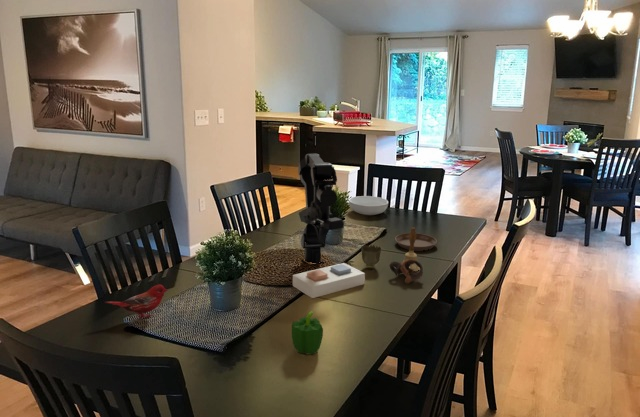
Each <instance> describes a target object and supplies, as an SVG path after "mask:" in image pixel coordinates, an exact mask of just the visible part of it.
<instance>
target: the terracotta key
mask: <svg viewBox="0 0 640 417" xmlns="http://www.w3.org/2000/svg"><path fill="white" fill-rule="evenodd" d="M314 270H315V271H312V270H310V271H311V272H307V271H306V272H307V278H309V279H311V280H313V281H314V282H316V281H320V280H324V279H327V277H328V274H326V273H325V272H323V271H321V270H316V269H314Z"/></svg>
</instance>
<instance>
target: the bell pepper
mask: <svg viewBox="0 0 640 417" xmlns="http://www.w3.org/2000/svg"><path fill="white" fill-rule="evenodd" d="M313 315H314V312H313V311H309V312H308V313H307V315H306V316H304V317H301V318H299V320H297V321H293V322H292V324H291V340H292V344H293V347H294V349H295V350H296V351H297V352H298V353H299V354H307V355H314V354H316V353H317V352H318V351H319V349H320V347H321V345H322V341H323V338H324V337H323V336H324V328H323V326H322V324H321V323H320V321H319V319H318V318H316V317H314V318H313V317H312V316H313ZM311 317H312V318H311Z"/></svg>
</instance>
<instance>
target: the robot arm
mask: <svg viewBox="0 0 640 417" xmlns="http://www.w3.org/2000/svg"><path fill="white" fill-rule="evenodd" d="M297 173H298V176H299V179H300V181H301V183H302V185H303V186H304V195H305V208H303V209H302V210H301V211H299V212H298V215H299V219H300V222H302V223H304V224H305V227H304V228H303V233H302V234H301V239H300V245H301V247H302V249H303V250H304V258H305V261H307V262H312V263H318V264H320V263H319V262H321V261H322V263H324V262H323V261H324V260H323V259H322V252H321V250H322V248H325V247H326V242H327V241H326V240H327V235H328V233H329V231H333V230H338V229H339V230H340V229H344V227H345V221H343V219H341V218H339V217H333V213H331V207H332V206H333V205H335V203H337V200H338V195H337V193H336V191H334V189H333V188H332V186H337V182H338V176H337V172H336V169H335V167H334V166H333V164H332V163H331V162H325V161H324V160H323V159H322V158H321V156H320V154H318V153H307V154H305V156H304V158H303V159H300V161H299V163H298V167H297Z"/></svg>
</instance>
